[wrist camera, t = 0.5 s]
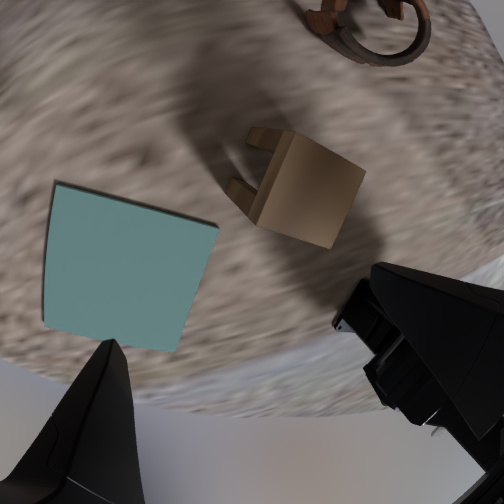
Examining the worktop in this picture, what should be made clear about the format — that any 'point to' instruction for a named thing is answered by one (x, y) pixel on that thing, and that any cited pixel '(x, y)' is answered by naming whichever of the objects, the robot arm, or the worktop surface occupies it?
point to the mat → (122, 269)
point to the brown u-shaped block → (298, 188)
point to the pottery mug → (351, 49)
